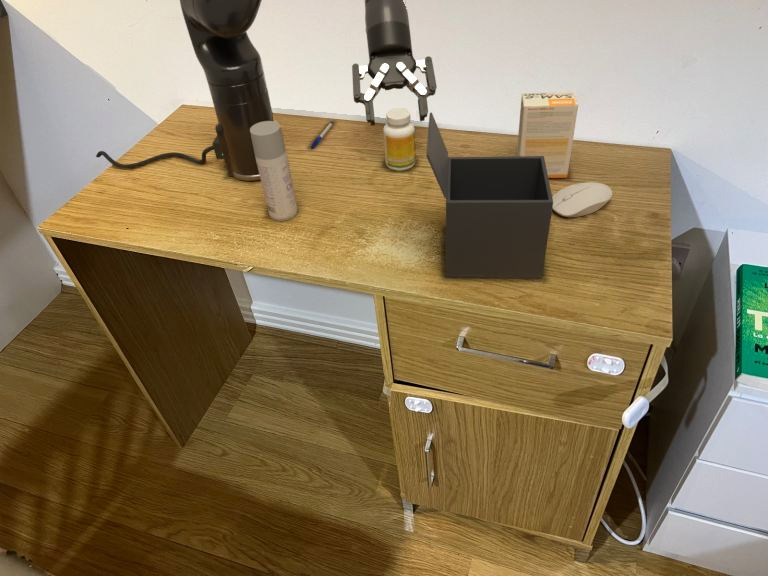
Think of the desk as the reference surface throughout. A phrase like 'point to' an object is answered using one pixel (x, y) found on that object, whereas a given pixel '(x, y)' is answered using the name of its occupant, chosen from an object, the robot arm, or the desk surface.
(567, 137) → the supplement box
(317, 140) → the ballpoint pen
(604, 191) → the computer mouse
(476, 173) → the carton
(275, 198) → the container
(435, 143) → the flap
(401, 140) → the supplement bottle
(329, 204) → the desk surface
